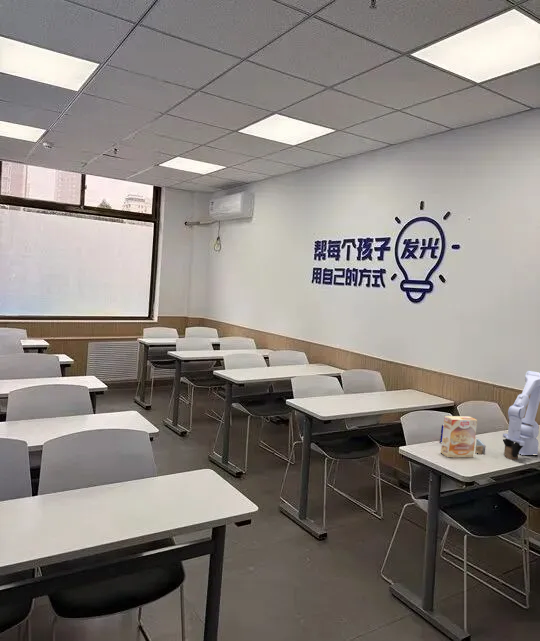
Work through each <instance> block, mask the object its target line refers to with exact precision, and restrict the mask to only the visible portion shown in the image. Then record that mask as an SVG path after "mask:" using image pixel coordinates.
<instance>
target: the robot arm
mask: <svg viewBox="0 0 540 641" xmlns="http://www.w3.org/2000/svg"><path fill="white" fill-rule="evenodd" d="M524 378H525V379H524V380H525V383H524V386H523V390H522V392H521V393H519V394H518V395H517V397H516V399H515V401H514V403H513V404H512V405H510V406H509V408H508V410H507V415H508V416H507V418H508V419H509V420H508V429H507V433H502V438H503V439H502V441H503V443H504V444H503V445H504V449H505V448H506V446H512V449H513V453H512V455H513V457H517V456H518V457H519V455H520V454H521V456H522V455H533V454H537V455H539V454H538V452H539V444H540V443H539V441H538V439H537V438H538V436H539V429H540V425H539V424H538V422H537V421H536V418H537V413H538V408H539V406H540V372H538V371H533V370H527V371H526V372H525V377H524ZM518 453H519V454H518Z"/></svg>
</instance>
